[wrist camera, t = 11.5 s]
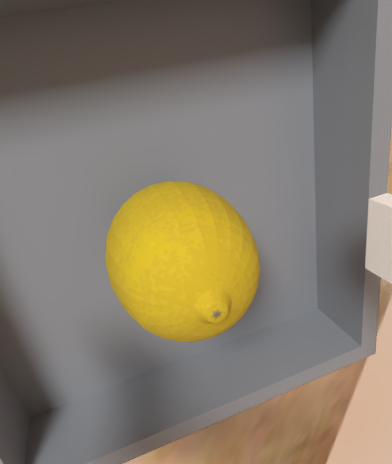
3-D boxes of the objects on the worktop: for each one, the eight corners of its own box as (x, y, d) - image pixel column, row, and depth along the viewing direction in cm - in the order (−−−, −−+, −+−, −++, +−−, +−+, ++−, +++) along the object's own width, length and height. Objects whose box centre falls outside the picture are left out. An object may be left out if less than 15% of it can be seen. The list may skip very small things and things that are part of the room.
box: (18, 427, 19) (6, 514, 16) (-221, 11, 11) (-384, -32, 7) (324, 309, 24) (375, 353, 20) (321, -50, 16) (407, -97, 12)
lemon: (97, 162, 15) (120, 226, 8) (215, 165, 17) (319, 221, 10) (98, 275, 17) (118, 406, 10) (204, 267, 19) (284, 374, 12)
